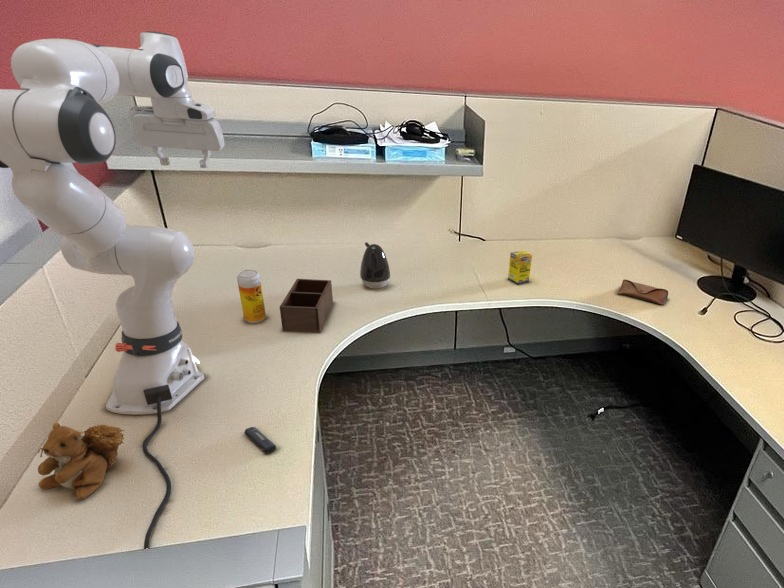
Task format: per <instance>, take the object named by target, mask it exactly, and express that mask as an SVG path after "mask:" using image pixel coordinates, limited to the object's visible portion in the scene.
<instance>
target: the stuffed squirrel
mask: <svg viewBox="0 0 784 588" xmlns="http://www.w3.org/2000/svg"><path fill="white" fill-rule="evenodd" d="M123 432H125V429H124V428H123V429H122V428H121V427H118V426H115V425H114V426H113V425H107V424H100V425H99V424H97V425H93V426H91V427H88V428H87V429H86V430H84V431H79V430H77V429H74V428H72V427H69V426H67V425H61V424H60V423H59V422H54V423H53V424H52V430H50V432H49V433H48V435H47V439H46V441H45V442H44V444H43V445H42V447H40V448H39V449H38V451H37V454H40V455H39V457H40V458H42V457H43V454H44V455H45V456H46V457H47V458H45V459H44V460H43V461H42V462H41V463H39V464H38V467H37V473H38V475H41V476H46V477H44V478H42V479H41V480H40V481H39V482H38V484H37V485H38V487H39V488H40V489H50V488H55V487H59V486H62V487H64V488H66V489H69V490H73V491H74V494H75V496H76V498H77V500H84V499H87V497H89V496H90V495H92V494H93V493H94V492H95V491H97V489H99V488H100V487H101V486H102V484H103V482H104V479H105V476H106V471H107V470H108V469H109V468H111V467H113V464H115V463H116V460H117V458H118V455H119V452H118V451H119V448H120V447H119V446H121V445H122V444H123V445H124V444H125V442H124V439H125V433H123ZM52 472H53V473H52ZM51 473H52V474H51ZM50 474H51V475H50Z"/></svg>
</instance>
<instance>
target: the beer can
mask: <svg viewBox="0 0 784 588" xmlns="http://www.w3.org/2000/svg"><path fill="white" fill-rule="evenodd" d="M236 281H237V286H238V292H239V293H238V294H239V299H240V303H241V309H242V313H243V314H242V315H243V319H244V321H246V322H247V323H249V324H258V323H262V322H263V321H264V320H265V319H266V317H267V315H266V314H267V313H266V308H265V302H264V294H263V288H262V282H261V275H260V273H259V272H258V271H257V270H255V269H243V270H240V271H239V272H238V273H237V276H236Z"/></svg>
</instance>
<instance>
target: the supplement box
mask: <svg viewBox="0 0 784 588" xmlns="http://www.w3.org/2000/svg"><path fill="white" fill-rule="evenodd" d="M532 259H533V254H531V253H529V252H527V251H526V250H523V249H521V250H517V251H512V252H510V257H509V264H508V266H509V267H508V273H507V280H508V281H510V282H512V283H514V284H515V285H521V284H524V283H529V282H530V277H531V267H532Z"/></svg>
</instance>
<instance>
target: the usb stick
mask: <svg viewBox="0 0 784 588" xmlns="http://www.w3.org/2000/svg"><path fill="white" fill-rule="evenodd" d="M244 435H246V436H247V437H248V438H249V439H250V440H251V441H252V442H253V443H254V444H256V445H257V446H258V447H259V448H260V449H261V450H262V451H263V452H264V453H265V454H268V453H272V452H273V451H275V450H276V449H277V445H276V444H275V443H273V442H272V441H271V440H270V439H269V438H268V437H267V436H266V435H264V434H263V432H261V431H260V430H259V429H257V428H256V427H255V426H249V427H248V428H247V427H246V429H245V430H244Z"/></svg>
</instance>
